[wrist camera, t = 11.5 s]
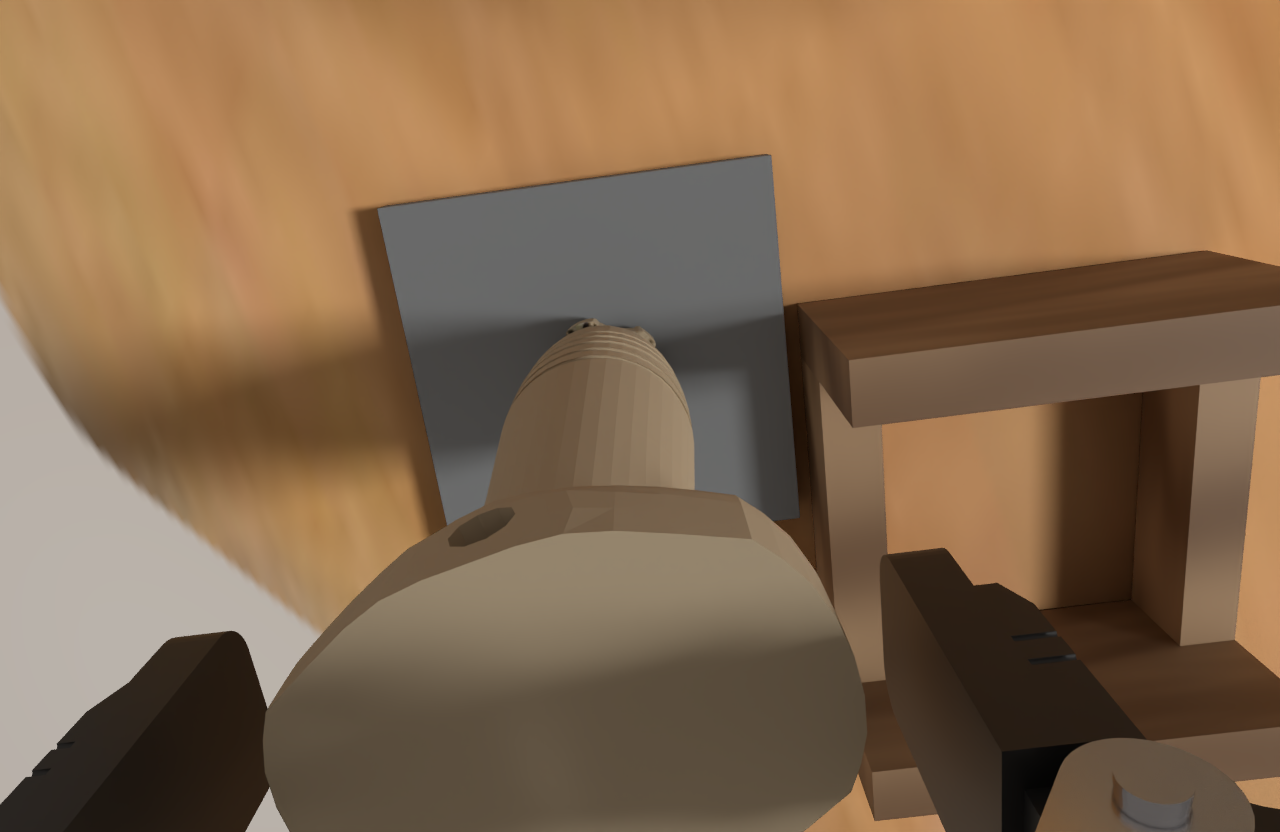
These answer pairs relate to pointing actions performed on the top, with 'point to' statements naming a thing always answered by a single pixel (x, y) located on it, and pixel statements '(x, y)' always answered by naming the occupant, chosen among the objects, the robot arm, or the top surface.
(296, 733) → the handle
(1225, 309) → the frame
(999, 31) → the top surface
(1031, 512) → the top surface
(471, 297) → the mat
